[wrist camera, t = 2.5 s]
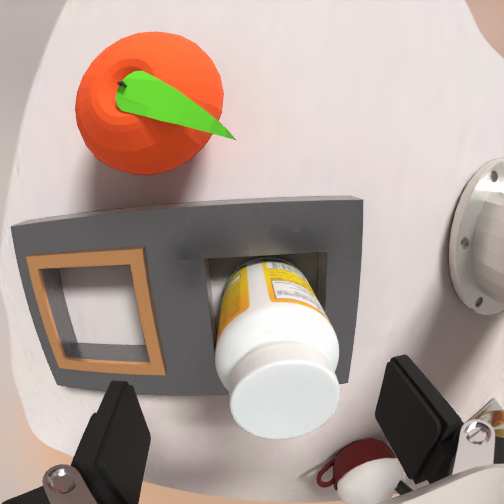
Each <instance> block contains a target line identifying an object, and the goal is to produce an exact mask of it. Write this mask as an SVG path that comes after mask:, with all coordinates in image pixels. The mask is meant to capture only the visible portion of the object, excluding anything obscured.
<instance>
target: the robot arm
mask: <svg viewBox="0 0 504 504" xmlns="http://www.w3.org/2000/svg"><path fill="white" fill-rule="evenodd" d="M449 266H450V275H451V279H452V282H453V286H454V289H455V291H456V293H457V295H458V297H459V298H460V299H461V300H462V302H463V303H464V304H465V305H466V306H468V307H469V308H470V309H472V310H473V311H475V312H477V313H480V314H482V315H492V314H496V313H499V312H501V311H503V310H504V158H501V159H494V160H492V161H490V162H488V163H486V164H485V165H483V166H482V167H481V168H480V169H479V170H478V171H477V172H476V173H475V174H474V176H473V177H472V178H471V180H470V181H469V182H468V184H467V186H466V188H465V190H464V192H463V194H462V195H461V198H460V201H459V203H458V206H457V209H456V211H455V215H454V220H453V224H452V228H451V235H450V242H449ZM375 417H376V420H377V422H378V423H379V425H380V427H381V429H382V431H383V432H384V434H385V436H386V438H387V440H388V442H389V443H390V445H391V447H392V449H393V451H394V453H395V454H396V456H397V458H398V460H399V462H400V464H401V465H402V467H403V469H404V471H405V473H406V475H407V477H408V478H409V479H413V481H414V482H415V484H418V483H421V482H423V481H426V480H428V482H429V485H427V486H424V487H422V488H419V489H417V490H414V491H411V492H409V493H406V494H403V495H400V496H398V497H395V498H392V499H389V500H386V501H383V502H380V503H376V504H504V438H503V437H497V436H495V431H494V429H493V427H492V426H491V425H490V424H489V423H488V422H486V421H483V420H480V419H473V420H469V421H468V422H466V423H465V424H464V423H463V422H462V421H461V418H460V417H459V416H458V415H457V413H456V412H455V411H454V410H453V408H452V407H451V406H450V405H449V404H448V402H447V401H446V400H445V399H444V398H443V396H442V395H441V394H440V393H439V392H438V390H437V389H436V388H435V387H434V386H433V385H432V383H431V382H430V381H429V380H428V379H427V378H426V376H425V375H424V374H423V373H422V372H421V371H420V369H419V368H418V367H417V366H416V365H415V364H414V363H413V361H412V360H411V359H410V358H409V357H408V356H407V355H401V356H397V357H393V358H391V360H390V362H388V363H387V365H386V370H385V374H384V379H383V383H382V387H381V391H380V395H379V399H378V403H377V407H376V411H375ZM150 441H151V437H150V432H149V430H148V427H147V424H146V422H145V419H144V416H143V413H142V410H141V408H140V405H139V402H138V399H137V396H136V393H135V390H134V387H133V386H132V385H129V383H128V382H127V381H114V380H113V381H111V382H110V384H109V387H108V389H107V391H106V393H105V395H104V398H103V400H102V402H101V404H100V407H99V409H98V411H97V413H94V414H93V415H92V416H91V418H90V420H89V423H88V425H87V427H86V430H85V432H84V434H83V436H82V439H81V441H80V444H79V446H78V448H77V451H76V453H75V456H74V458H73V461H72V463H71V466H69V465H63V464H61V465H56V466H53V467H52V468H50V469H49V470H48V471H46V473H45V475H44V476H43V486H41V487H39V488H37V489H34V490H32V491H29V492H27V493H24V494H22V495H19V496H17V497H14V498H11V499H9V500H7V501H5V502H3V503H2V504H138V502H139V497H140V491H141V485H142V481H143V476H144V471H145V466H146V461H147V456H148V451H149V446H150Z"/></svg>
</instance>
